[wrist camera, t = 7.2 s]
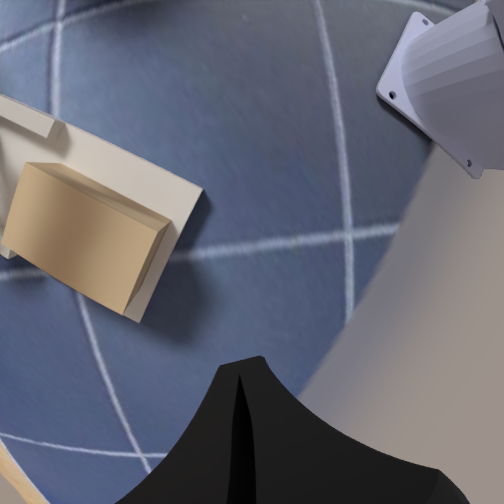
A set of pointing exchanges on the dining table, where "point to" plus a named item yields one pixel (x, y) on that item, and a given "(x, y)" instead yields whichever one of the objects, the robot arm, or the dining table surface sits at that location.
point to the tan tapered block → (83, 233)
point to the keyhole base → (92, 177)
